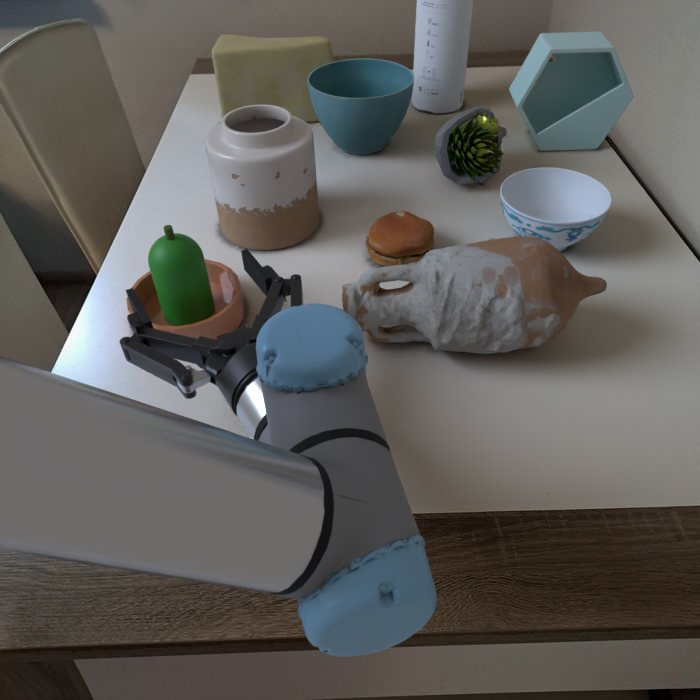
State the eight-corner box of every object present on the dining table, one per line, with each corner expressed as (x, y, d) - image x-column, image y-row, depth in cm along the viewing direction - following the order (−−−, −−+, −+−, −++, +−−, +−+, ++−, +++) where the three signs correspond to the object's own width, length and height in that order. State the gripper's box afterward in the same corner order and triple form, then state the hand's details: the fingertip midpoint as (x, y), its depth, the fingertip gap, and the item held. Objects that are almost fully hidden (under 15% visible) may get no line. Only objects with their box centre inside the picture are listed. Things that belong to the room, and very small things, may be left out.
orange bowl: (140, 365, 78) (131, 340, 75) (130, 295, 88) (122, 271, 85) (255, 337, 81) (250, 313, 78) (233, 273, 91) (229, 249, 88)
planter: (552, 174, 118) (502, 80, 106) (542, 154, 123) (494, 63, 112) (644, 122, 111) (602, 16, 99) (630, 103, 117) (588, 1, 105)
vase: (321, 196, 105) (314, 94, 94) (317, 250, 94) (308, 142, 83) (228, 198, 106) (210, 97, 94) (213, 252, 95) (190, 145, 83)
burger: (381, 276, 89) (381, 248, 86) (357, 242, 96) (357, 214, 93) (445, 261, 92) (448, 233, 89) (418, 228, 98) (419, 200, 95)
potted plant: (505, 136, 112) (547, 151, 99) (453, 192, 114) (487, 214, 101) (461, 85, 106) (499, 94, 93) (407, 145, 109) (437, 162, 96)
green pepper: (167, 332, 81) (141, 248, 72) (161, 301, 86) (136, 218, 77) (219, 320, 82) (200, 236, 74) (210, 290, 87) (191, 207, 78)
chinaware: (472, 230, 97) (478, 184, 92) (549, 203, 102) (558, 157, 97) (540, 283, 87) (551, 234, 82) (621, 249, 92) (636, 202, 87)
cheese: (340, 108, 130) (337, 29, 120) (336, 129, 123) (333, 47, 113) (232, 108, 132) (219, 30, 121) (222, 130, 125) (208, 48, 114)
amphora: (642, 285, 66) (354, 236, 64) (585, 405, 75) (330, 365, 73) (602, 232, 78) (357, 189, 76) (557, 342, 87) (336, 306, 85)
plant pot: (328, 119, 127) (324, 54, 118) (419, 127, 123) (422, 60, 115) (299, 162, 114) (293, 93, 106) (400, 172, 110) (402, 102, 102)
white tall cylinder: (473, 102, 131) (489, -45, 113) (443, 120, 125) (455, -33, 107) (431, 89, 136) (440, -54, 118) (400, 105, 130) (405, -42, 112)
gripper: (151, 478, 58) (90, 342, 71) (384, 372, 67) (291, 269, 80) (129, 424, 53) (68, 288, 66) (384, 317, 62) (285, 217, 75)
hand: (190, 278), depth 73 cm, fingers open, 13 cm apart
